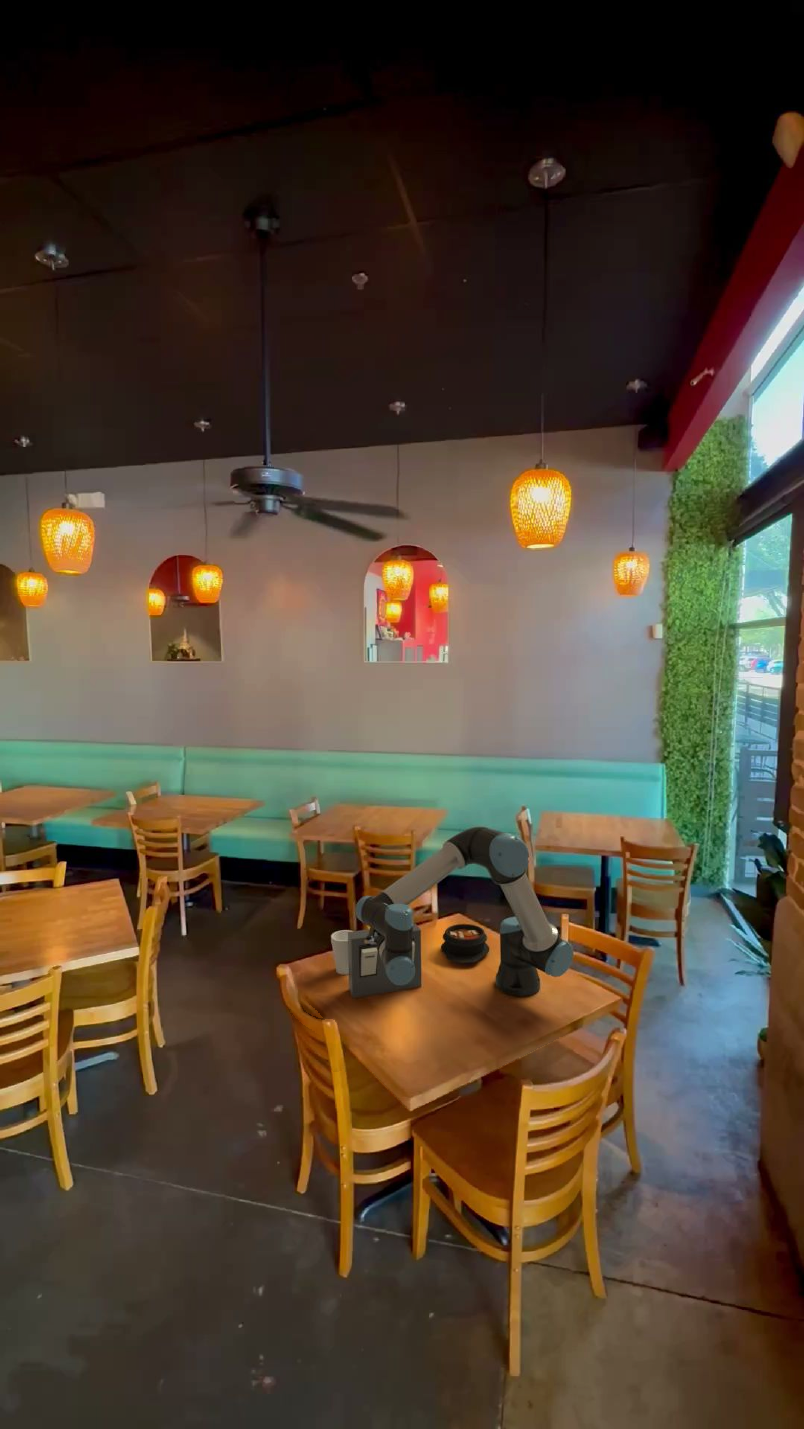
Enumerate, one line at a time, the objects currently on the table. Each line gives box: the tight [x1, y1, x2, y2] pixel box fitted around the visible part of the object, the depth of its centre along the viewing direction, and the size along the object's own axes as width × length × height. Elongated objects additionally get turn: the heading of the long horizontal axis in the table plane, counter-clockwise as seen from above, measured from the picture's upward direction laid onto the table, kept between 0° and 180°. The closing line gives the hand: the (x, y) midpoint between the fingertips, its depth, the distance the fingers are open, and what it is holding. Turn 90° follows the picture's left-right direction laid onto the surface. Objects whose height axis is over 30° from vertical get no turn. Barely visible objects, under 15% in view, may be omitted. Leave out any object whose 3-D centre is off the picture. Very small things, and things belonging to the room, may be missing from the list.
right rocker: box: [412, 941, 415, 962], centre depth 215 cm, size 2×5×10 cm, turn 106°
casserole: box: [440, 923, 491, 964], centre depth 244 cm, size 25×19×8 cm
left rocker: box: [360, 948, 378, 976], centre depth 211 cm, size 2×5×10 cm, turn 107°
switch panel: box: [348, 922, 422, 999], centre depth 221 cm, size 16×24×20 cm, turn 106°
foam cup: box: [330, 929, 354, 975], centre depth 230 cm, size 10×9×13 cm
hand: (378, 919), depth 205 cm, fingers closed
